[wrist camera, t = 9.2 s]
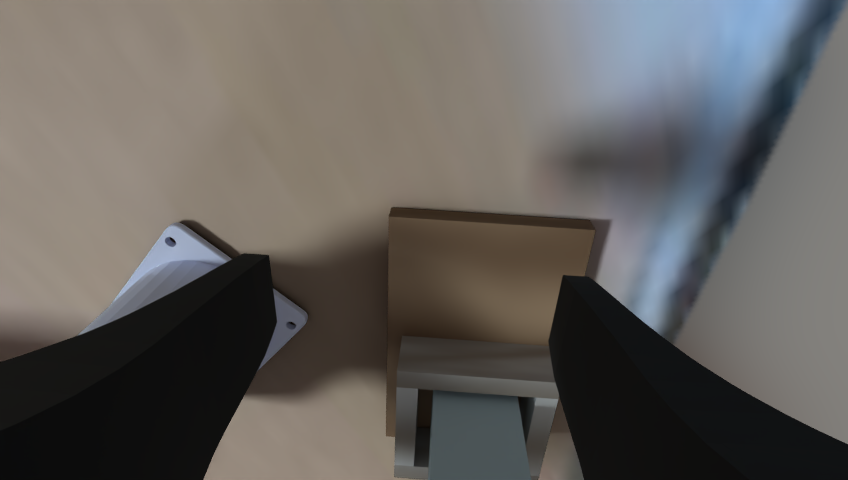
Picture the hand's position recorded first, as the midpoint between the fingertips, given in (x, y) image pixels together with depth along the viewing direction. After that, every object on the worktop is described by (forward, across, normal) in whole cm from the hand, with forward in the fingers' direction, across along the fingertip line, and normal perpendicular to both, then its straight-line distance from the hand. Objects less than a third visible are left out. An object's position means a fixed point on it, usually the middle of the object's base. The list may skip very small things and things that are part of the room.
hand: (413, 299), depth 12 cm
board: (+10, -3, +9) cm, 14 cm away
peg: (+9, -3, +12) cm, 15 cm away
